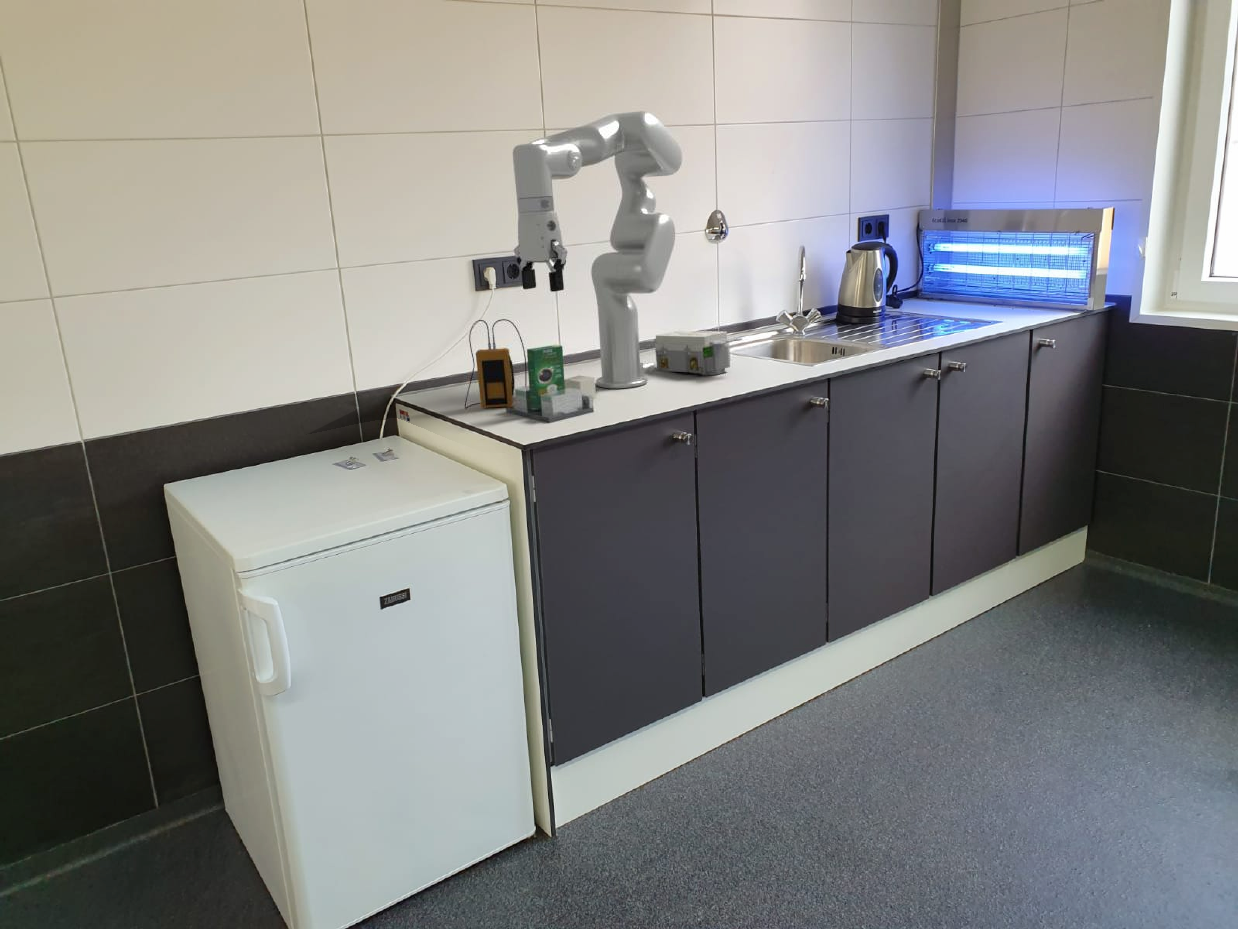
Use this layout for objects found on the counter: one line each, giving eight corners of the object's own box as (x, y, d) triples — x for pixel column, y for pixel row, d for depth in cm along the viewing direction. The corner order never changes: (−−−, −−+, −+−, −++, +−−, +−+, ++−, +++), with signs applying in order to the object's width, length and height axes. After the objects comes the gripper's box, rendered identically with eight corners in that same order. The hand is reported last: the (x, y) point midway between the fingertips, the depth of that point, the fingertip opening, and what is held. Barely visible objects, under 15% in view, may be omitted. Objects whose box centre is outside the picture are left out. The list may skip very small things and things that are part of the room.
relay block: (580, 396, 216) (578, 375, 215) (595, 398, 213) (594, 377, 211) (565, 400, 212) (564, 379, 211) (581, 403, 209) (580, 381, 208)
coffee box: (559, 401, 205) (555, 343, 202) (567, 403, 203) (563, 344, 199) (529, 408, 201) (524, 348, 197) (537, 410, 198) (532, 350, 195)
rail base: (549, 401, 212) (547, 380, 210) (593, 411, 200) (592, 389, 199) (506, 411, 204) (504, 389, 203) (549, 422, 193) (547, 399, 191)
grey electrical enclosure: (717, 379, 223) (714, 338, 221) (640, 373, 245) (637, 335, 242) (750, 371, 230) (747, 331, 228) (672, 366, 252) (669, 329, 249)
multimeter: (531, 396, 218) (524, 312, 213) (529, 406, 209) (521, 317, 203) (469, 400, 218) (461, 315, 212) (464, 410, 209) (455, 321, 203)
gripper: (575, 204, 187) (582, 289, 192) (526, 205, 199) (533, 285, 205) (546, 207, 182) (554, 294, 187) (497, 208, 195) (505, 289, 200)
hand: (543, 289), depth 196 cm, fingers open, 9 cm apart
